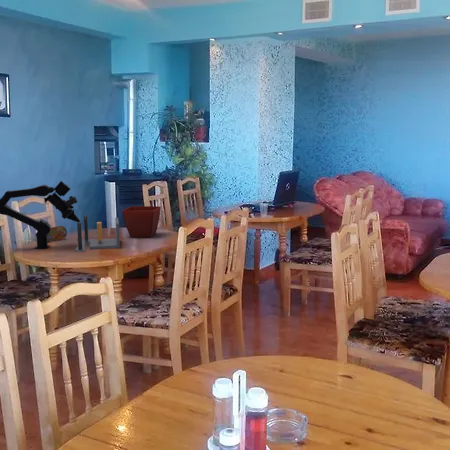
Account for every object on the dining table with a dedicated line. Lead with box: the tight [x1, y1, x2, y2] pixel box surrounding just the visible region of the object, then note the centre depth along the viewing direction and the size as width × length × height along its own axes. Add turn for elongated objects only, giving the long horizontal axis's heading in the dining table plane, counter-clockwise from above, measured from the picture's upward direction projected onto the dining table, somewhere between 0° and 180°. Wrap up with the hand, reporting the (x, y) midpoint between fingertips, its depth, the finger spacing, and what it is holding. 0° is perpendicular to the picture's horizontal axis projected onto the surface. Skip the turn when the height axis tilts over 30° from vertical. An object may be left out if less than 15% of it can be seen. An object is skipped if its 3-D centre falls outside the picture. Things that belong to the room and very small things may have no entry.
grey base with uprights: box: [89, 217, 121, 250], centre depth 339 cm, size 16×22×14 cm
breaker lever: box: [96, 221, 103, 243], centre depth 339 cm, size 2×5×11 cm, turn 11°
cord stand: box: [74, 215, 91, 253], centre depth 337 cm, size 5×32×15 cm, turn 6°
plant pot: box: [121, 205, 162, 238], centre depth 367 cm, size 19×19×17 cm
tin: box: [46, 225, 68, 243], centre depth 354 cm, size 15×3×8 cm, turn 143°
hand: (79, 221), depth 336 cm, fingers closed
